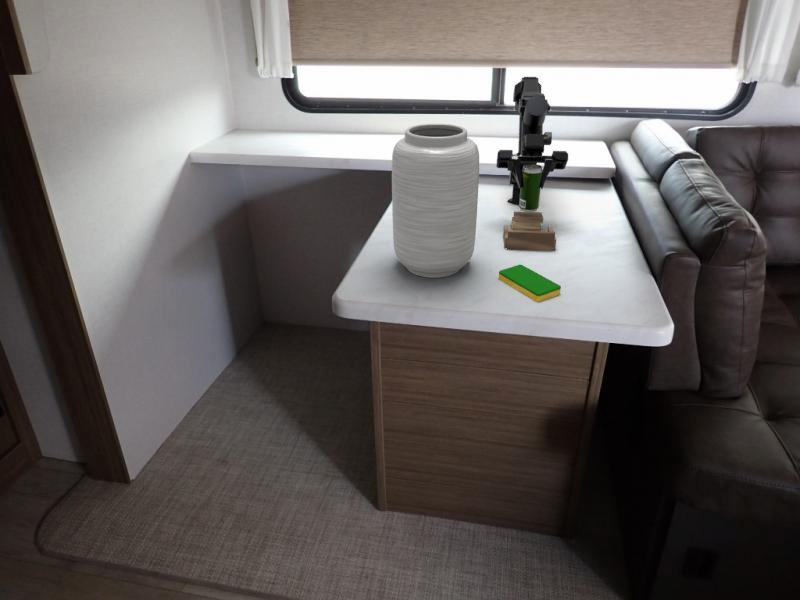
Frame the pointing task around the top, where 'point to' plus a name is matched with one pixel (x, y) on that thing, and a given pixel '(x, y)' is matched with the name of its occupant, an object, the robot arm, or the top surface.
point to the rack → (529, 239)
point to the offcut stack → (527, 221)
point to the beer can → (530, 187)
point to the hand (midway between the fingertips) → (531, 187)
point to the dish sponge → (529, 283)
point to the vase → (434, 199)
